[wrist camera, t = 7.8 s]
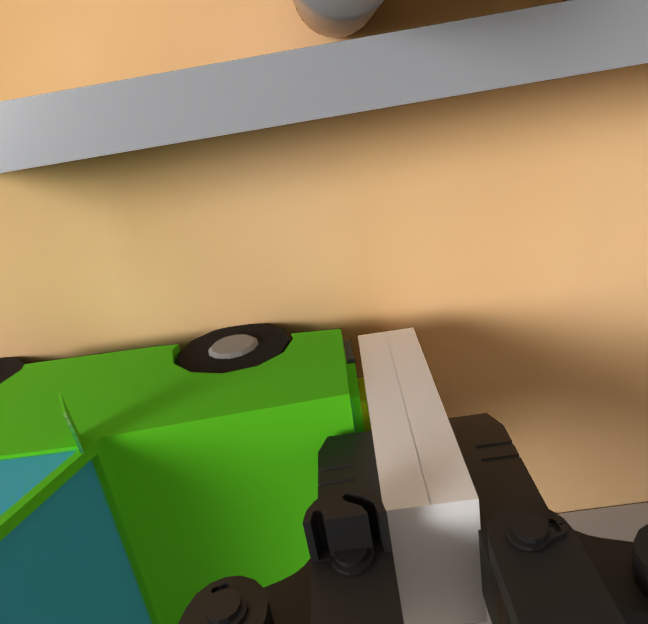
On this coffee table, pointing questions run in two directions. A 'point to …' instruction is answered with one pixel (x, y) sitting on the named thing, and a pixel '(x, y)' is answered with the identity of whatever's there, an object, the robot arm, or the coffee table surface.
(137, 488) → the toy car
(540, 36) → the grey long bars
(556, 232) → the coffee table surface
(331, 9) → the cover
